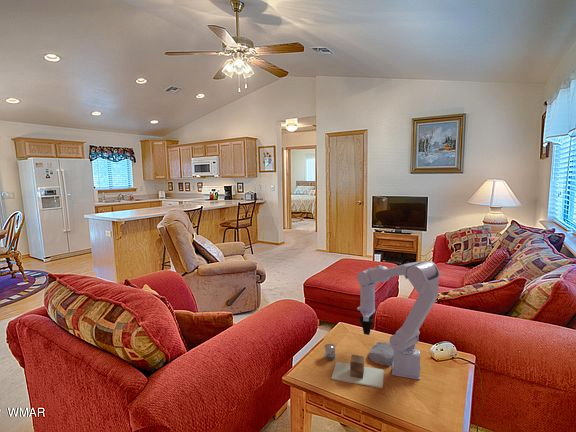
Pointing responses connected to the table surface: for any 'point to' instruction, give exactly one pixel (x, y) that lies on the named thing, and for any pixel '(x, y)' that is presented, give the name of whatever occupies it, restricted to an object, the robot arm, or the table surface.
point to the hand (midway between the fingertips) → (367, 329)
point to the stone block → (382, 353)
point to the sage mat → (370, 378)
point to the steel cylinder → (330, 352)
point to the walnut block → (357, 366)
